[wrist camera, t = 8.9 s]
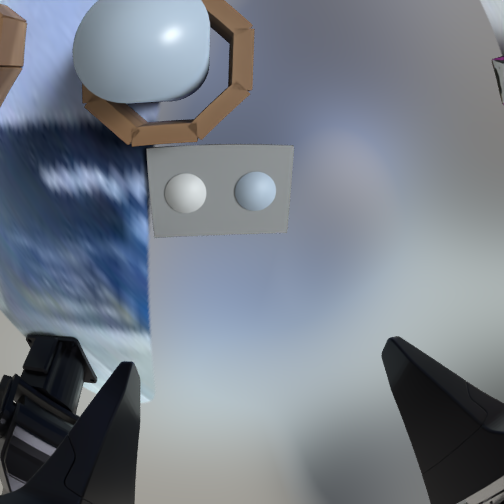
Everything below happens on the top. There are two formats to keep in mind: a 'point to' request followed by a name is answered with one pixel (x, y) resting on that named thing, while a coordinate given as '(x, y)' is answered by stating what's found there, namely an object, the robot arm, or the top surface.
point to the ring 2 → (181, 131)
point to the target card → (220, 189)
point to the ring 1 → (10, 48)
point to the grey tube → (143, 49)
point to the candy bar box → (499, 74)
